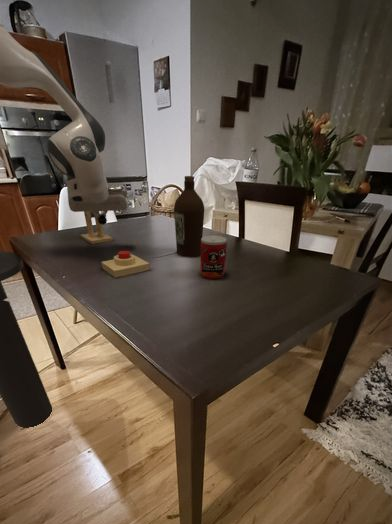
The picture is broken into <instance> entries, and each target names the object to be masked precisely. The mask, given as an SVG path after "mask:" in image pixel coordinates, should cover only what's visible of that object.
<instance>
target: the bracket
mask: <svg viewBox="0 0 392 524" xmlns="http://www.w3.org/2000/svg"><path fill="white" fill-rule="evenodd" d="M83 214H84V219H85V224H86V230H87V233H84V234H80V237H81V239H83V240H85V241H86V242H88V243H90V244H91V245H95V244H100V243H107V242H113V237H111V236H109V234H107V233H104V229H103V225H101V224H100V223H99V222H98V219H97V218H94V221H95V226H96V227H95V228H96V232H95V231H94V226H93V220H92V218H91V215H90V211H85V212H83Z"/></svg>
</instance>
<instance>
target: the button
mask: <svg viewBox="0 0 392 524" xmlns="http://www.w3.org/2000/svg"><path fill="white" fill-rule="evenodd" d="M130 254H131V252H130V251H128V250H121V251H118V252H117V255H118V256H119V259H129V258H130Z"/></svg>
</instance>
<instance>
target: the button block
mask: <svg viewBox="0 0 392 524" xmlns="http://www.w3.org/2000/svg"><path fill="white" fill-rule="evenodd" d="M101 267H102V268H101V269H103V270H104V271H105V272H107V273H108V274H109V275H111V276H112V277H113V278H115V279H117V278H121V277H125V276H131V275H133V274H138V273H142V272H143V273H144V272H146V271H150V269H151V268H150V263H149V262H148V261H146V260H145V259H142V258H141V257H139V256H137V255H134V254H132V253H130V258H129V259H119V256H118V254H116V255H114V256H113V259H108V260H103V261H101Z"/></svg>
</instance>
